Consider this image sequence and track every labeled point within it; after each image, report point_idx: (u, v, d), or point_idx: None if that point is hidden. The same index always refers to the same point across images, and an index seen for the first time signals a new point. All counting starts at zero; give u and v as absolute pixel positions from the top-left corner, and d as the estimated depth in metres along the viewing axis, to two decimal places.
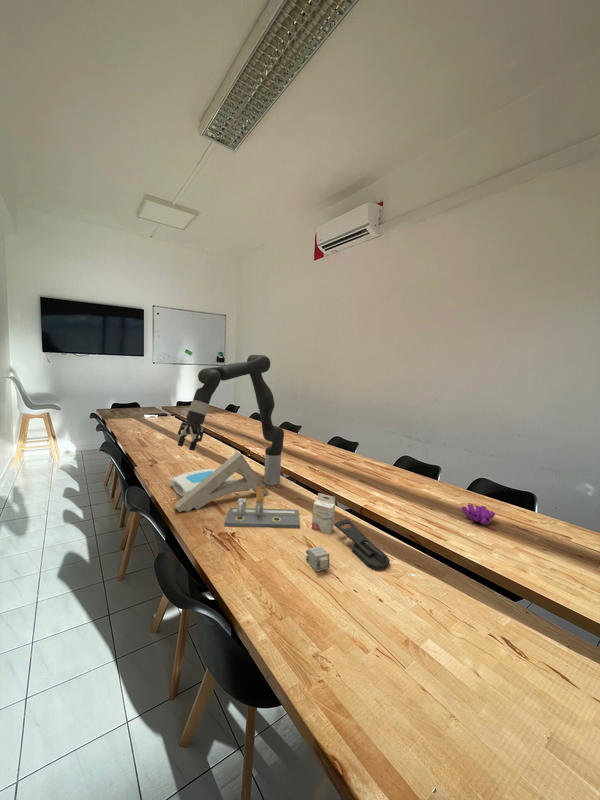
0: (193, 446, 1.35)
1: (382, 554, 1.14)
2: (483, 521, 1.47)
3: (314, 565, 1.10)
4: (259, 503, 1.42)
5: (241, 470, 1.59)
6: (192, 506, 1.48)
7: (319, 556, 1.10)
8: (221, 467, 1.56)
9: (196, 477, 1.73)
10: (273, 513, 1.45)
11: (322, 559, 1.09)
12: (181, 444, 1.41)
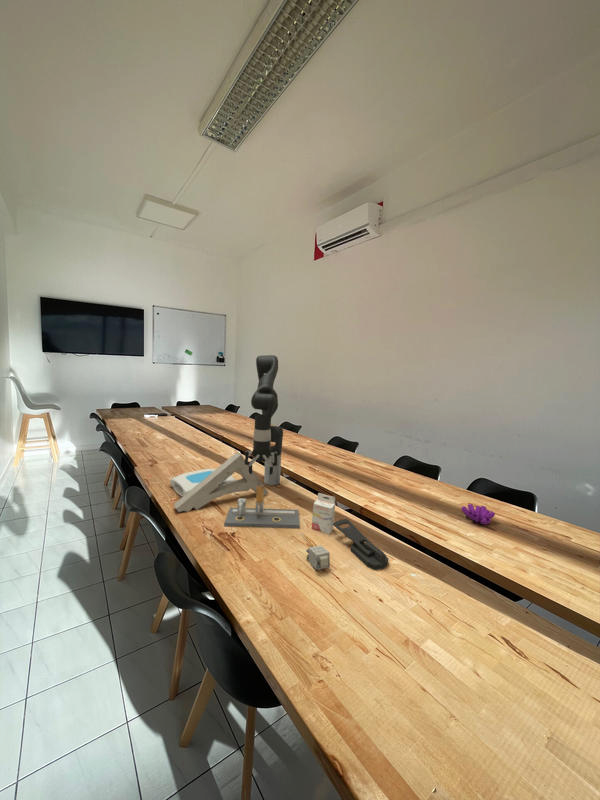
0: (272, 470, 1.43)
1: (381, 554, 1.14)
2: (483, 521, 1.47)
3: (314, 564, 1.11)
4: (259, 503, 1.42)
5: (241, 470, 1.59)
6: (192, 506, 1.48)
7: (319, 555, 1.10)
8: (221, 467, 1.56)
9: (196, 477, 1.73)
10: (273, 513, 1.45)
11: (322, 558, 1.10)
12: None
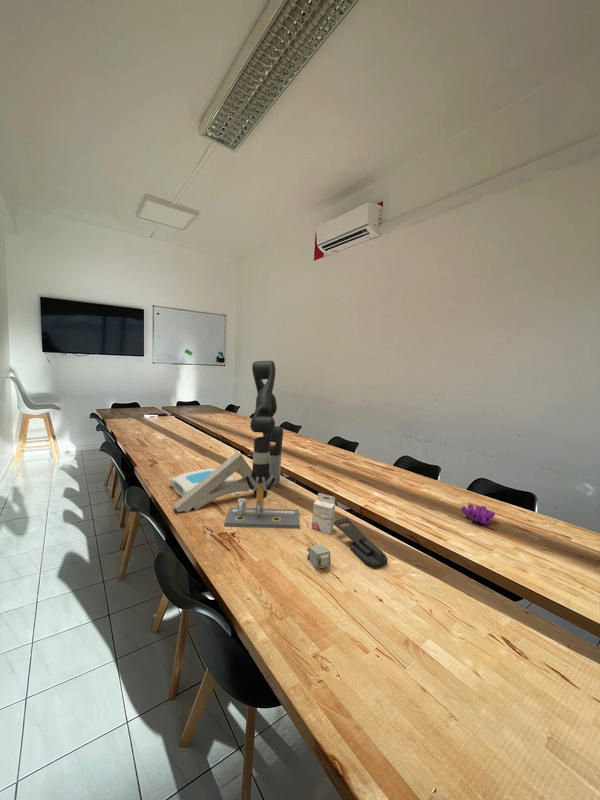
0: (266, 494, 1.44)
1: (380, 553, 1.15)
2: (483, 521, 1.47)
3: (315, 563, 1.12)
4: (259, 503, 1.42)
5: (240, 470, 1.59)
6: (191, 506, 1.48)
7: (320, 554, 1.11)
8: (220, 467, 1.56)
9: (196, 477, 1.73)
10: (273, 513, 1.45)
11: (323, 557, 1.10)
12: None
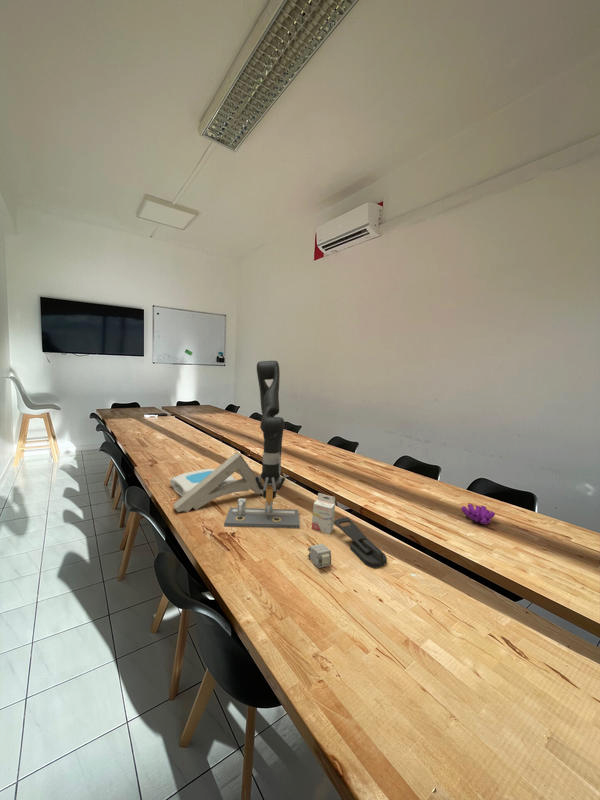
0: (275, 494, 1.44)
1: (379, 552, 1.15)
2: (483, 521, 1.47)
3: (316, 562, 1.12)
4: (269, 503, 1.42)
5: (240, 470, 1.58)
6: (191, 506, 1.47)
7: (321, 553, 1.11)
8: (220, 467, 1.56)
9: (196, 477, 1.73)
10: (273, 513, 1.45)
11: (324, 556, 1.11)
12: None
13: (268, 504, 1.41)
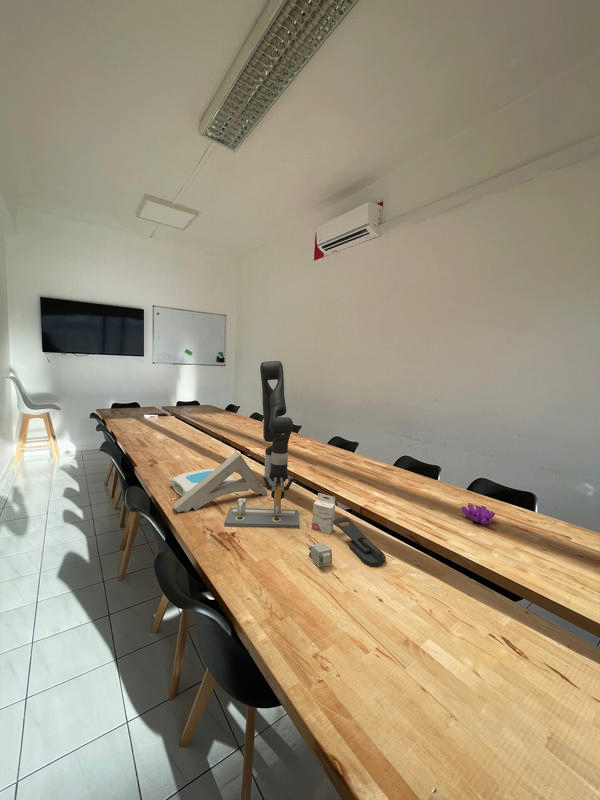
0: None
1: (378, 551, 1.15)
2: (483, 521, 1.47)
3: (317, 561, 1.13)
4: (277, 504, 1.42)
5: (240, 470, 1.58)
6: (191, 506, 1.47)
7: (322, 552, 1.12)
8: (220, 467, 1.56)
9: (196, 477, 1.73)
10: (273, 513, 1.45)
11: (325, 555, 1.11)
12: None
13: (276, 504, 1.42)
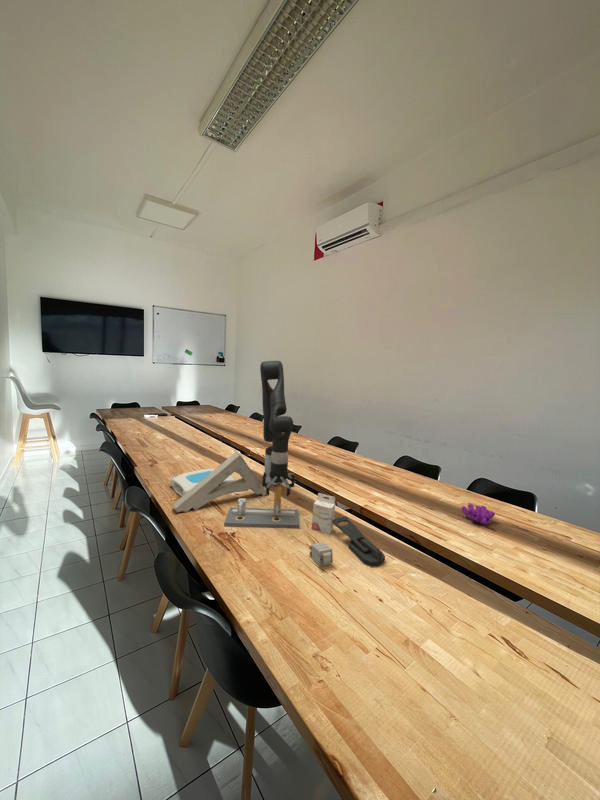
0: (289, 492, 1.45)
1: (378, 551, 1.16)
2: (483, 521, 1.47)
3: (317, 560, 1.13)
4: (277, 504, 1.42)
5: (240, 470, 1.58)
6: (190, 506, 1.47)
7: (322, 551, 1.12)
8: (220, 467, 1.56)
9: (196, 477, 1.73)
10: (273, 513, 1.45)
11: (325, 554, 1.12)
12: None
13: (276, 504, 1.42)
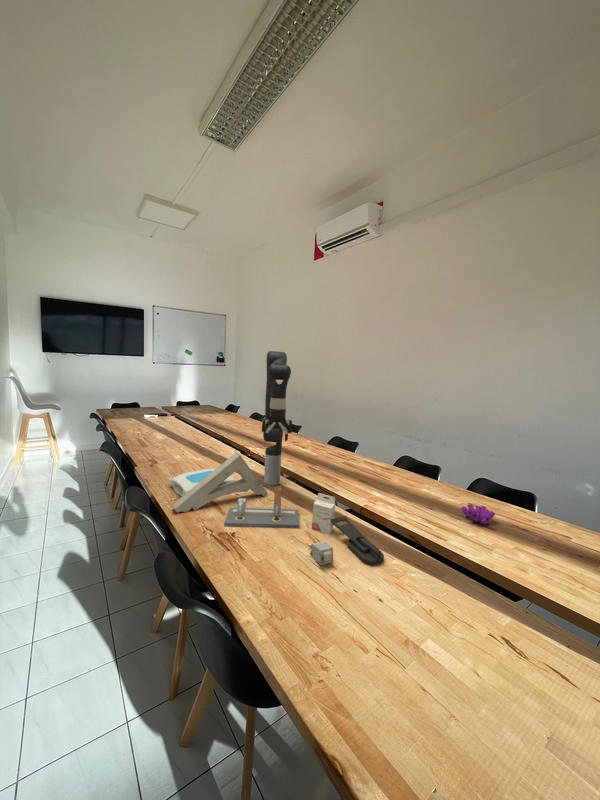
0: (287, 437, 1.52)
1: (377, 550, 1.16)
2: (483, 521, 1.47)
3: (318, 559, 1.14)
4: (277, 504, 1.42)
5: (240, 471, 1.58)
6: (190, 507, 1.47)
7: (323, 550, 1.13)
8: (220, 468, 1.55)
9: (196, 477, 1.73)
10: (273, 513, 1.45)
11: (326, 553, 1.13)
12: (268, 438, 1.53)
13: (276, 504, 1.42)
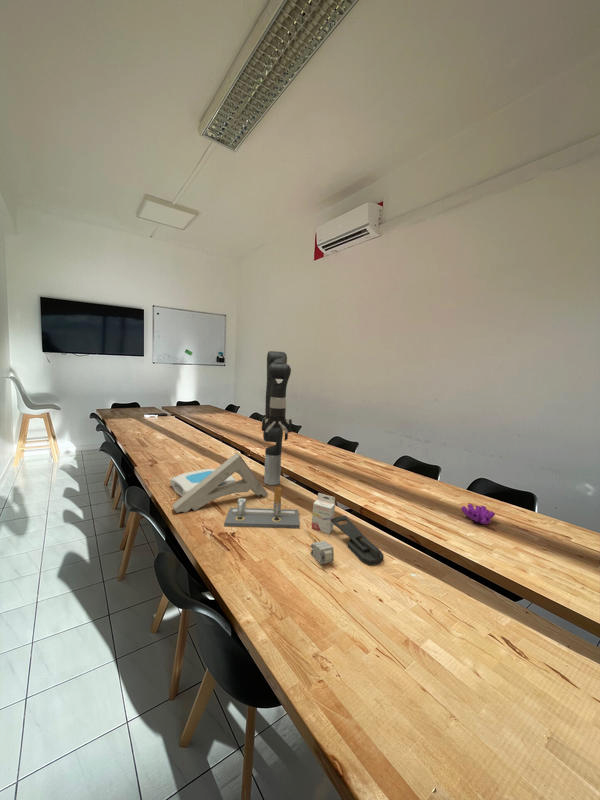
0: (287, 437, 1.52)
1: (376, 550, 1.16)
2: (483, 521, 1.47)
3: (319, 558, 1.14)
4: (277, 504, 1.42)
5: (240, 471, 1.57)
6: (190, 507, 1.47)
7: (323, 549, 1.13)
8: (220, 468, 1.55)
9: (196, 477, 1.73)
10: (273, 513, 1.45)
11: (326, 552, 1.13)
12: (268, 437, 1.53)
13: (276, 504, 1.42)
